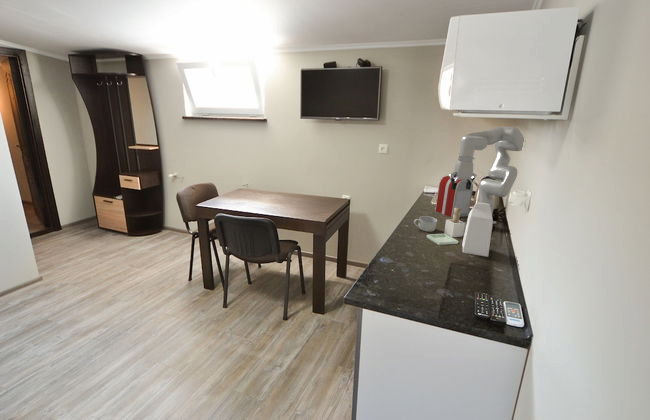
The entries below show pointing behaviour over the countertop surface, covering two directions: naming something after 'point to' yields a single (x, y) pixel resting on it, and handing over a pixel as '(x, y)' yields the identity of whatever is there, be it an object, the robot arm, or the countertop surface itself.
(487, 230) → the milk
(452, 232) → the open box
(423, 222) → the teacup
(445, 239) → the tray
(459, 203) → the red and white block
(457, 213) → the dowel
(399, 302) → the countertop surface
